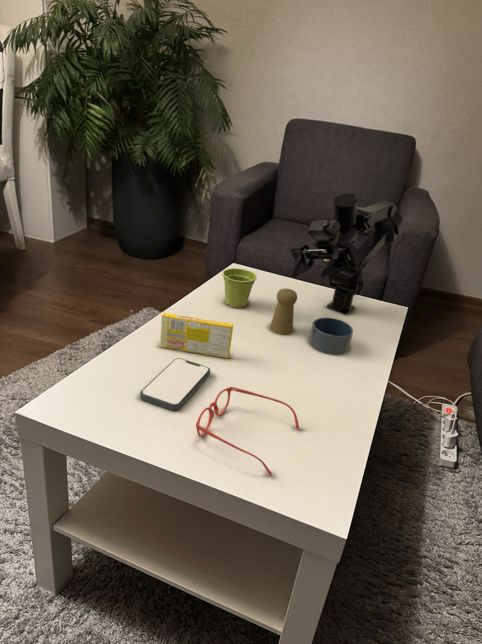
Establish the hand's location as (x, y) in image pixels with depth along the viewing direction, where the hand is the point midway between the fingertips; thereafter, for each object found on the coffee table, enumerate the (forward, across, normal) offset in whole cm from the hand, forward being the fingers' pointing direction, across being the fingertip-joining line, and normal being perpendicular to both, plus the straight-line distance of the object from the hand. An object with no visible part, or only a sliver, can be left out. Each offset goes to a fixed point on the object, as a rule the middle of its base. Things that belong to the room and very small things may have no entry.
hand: (306, 275), depth 130 cm
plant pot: (+4, -26, +7) cm, 28 cm away
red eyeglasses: (+45, +15, +4) cm, 47 cm away
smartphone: (+42, -4, -2) cm, 43 cm away
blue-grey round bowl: (+4, +1, +18) cm, 19 cm away
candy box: (+30, -13, 0) cm, 33 cm away
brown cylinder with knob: (+7, -10, +12) cm, 17 cm away
